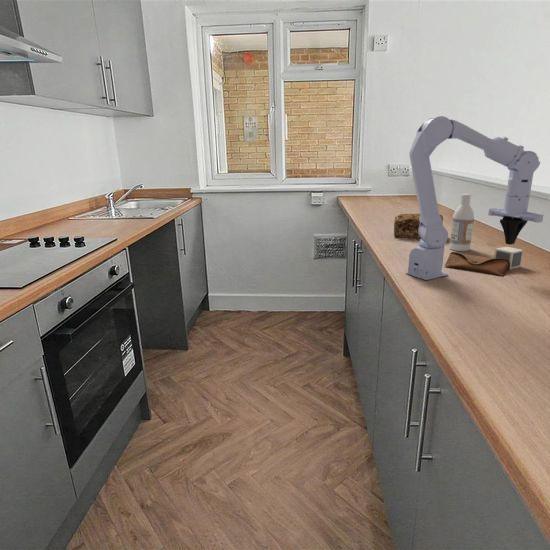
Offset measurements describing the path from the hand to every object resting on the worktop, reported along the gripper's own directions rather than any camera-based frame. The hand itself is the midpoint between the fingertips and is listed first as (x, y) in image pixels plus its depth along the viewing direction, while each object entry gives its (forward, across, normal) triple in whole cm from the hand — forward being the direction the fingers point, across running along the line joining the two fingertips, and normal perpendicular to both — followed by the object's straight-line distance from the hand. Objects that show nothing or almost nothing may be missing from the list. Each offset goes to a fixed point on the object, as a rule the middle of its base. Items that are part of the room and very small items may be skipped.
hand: (509, 243), depth 117 cm
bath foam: (+10, +28, -15) cm, 33 cm away
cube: (+10, +6, -10) cm, 15 cm away
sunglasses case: (+10, +9, +1) cm, 14 cm away
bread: (+10, +51, -18) cm, 55 cm away
